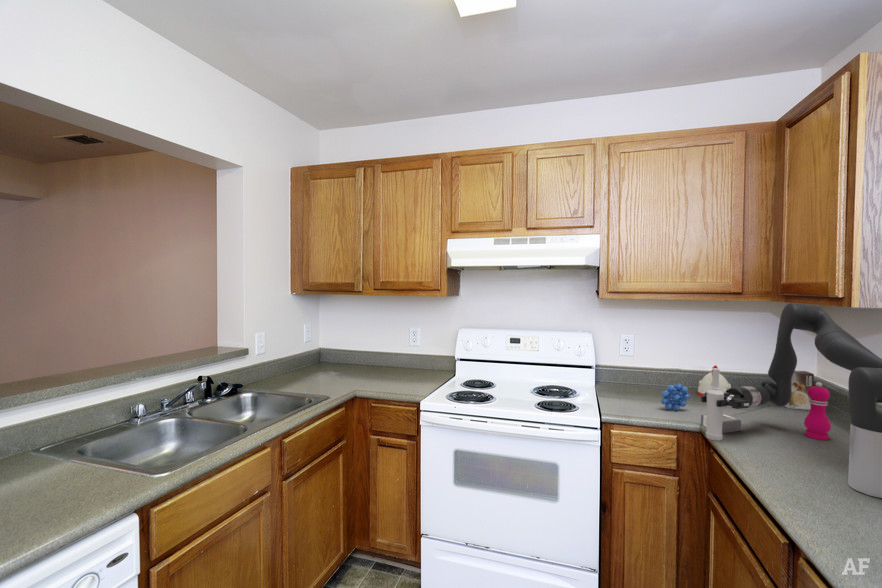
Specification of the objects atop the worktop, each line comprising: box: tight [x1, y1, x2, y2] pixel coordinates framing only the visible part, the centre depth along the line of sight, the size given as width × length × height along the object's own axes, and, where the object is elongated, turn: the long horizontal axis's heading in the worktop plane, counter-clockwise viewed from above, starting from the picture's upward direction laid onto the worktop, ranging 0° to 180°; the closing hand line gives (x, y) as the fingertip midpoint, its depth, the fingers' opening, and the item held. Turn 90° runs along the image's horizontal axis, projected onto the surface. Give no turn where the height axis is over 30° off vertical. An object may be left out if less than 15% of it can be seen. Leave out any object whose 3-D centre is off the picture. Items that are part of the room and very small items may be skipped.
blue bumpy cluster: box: [660, 382, 691, 411], centre depth 178 cm, size 12×7×12 cm, turn 84°
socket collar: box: [700, 413, 742, 434], centre depth 156 cm, size 9×9×4 cm
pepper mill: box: [803, 381, 832, 441], centre depth 147 cm, size 7×7×20 cm
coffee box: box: [784, 370, 815, 411], centre depth 182 cm, size 9×6×16 cm
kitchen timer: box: [697, 364, 732, 397], centre depth 199 cm, size 14×14×15 cm
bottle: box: [705, 367, 724, 442], centre depth 146 cm, size 5×5×25 cm
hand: (709, 401), depth 145 cm, fingers closed on bottle, 5 cm apart
